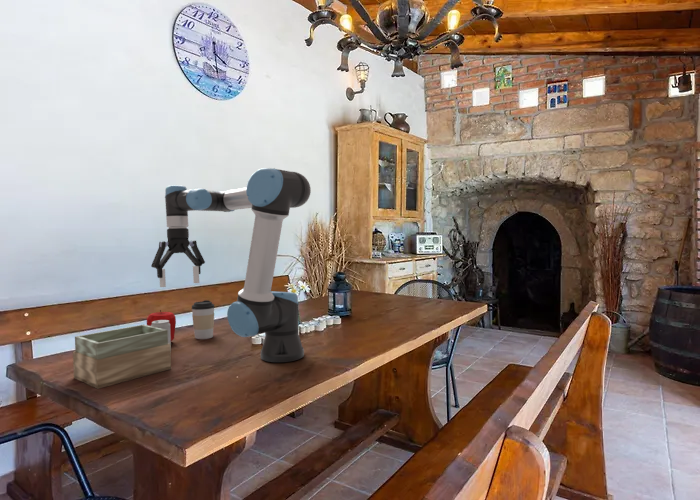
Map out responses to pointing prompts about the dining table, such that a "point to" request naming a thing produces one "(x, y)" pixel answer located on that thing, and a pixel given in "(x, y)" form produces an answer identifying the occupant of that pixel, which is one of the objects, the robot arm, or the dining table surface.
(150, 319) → the red rounded piece
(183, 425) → the dining table surface
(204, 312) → the coffee cup
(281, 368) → the dining table surface
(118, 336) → the wooden planter box
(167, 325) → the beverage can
